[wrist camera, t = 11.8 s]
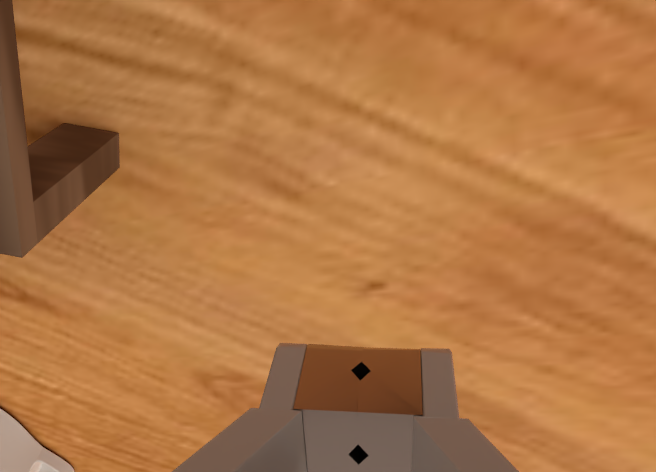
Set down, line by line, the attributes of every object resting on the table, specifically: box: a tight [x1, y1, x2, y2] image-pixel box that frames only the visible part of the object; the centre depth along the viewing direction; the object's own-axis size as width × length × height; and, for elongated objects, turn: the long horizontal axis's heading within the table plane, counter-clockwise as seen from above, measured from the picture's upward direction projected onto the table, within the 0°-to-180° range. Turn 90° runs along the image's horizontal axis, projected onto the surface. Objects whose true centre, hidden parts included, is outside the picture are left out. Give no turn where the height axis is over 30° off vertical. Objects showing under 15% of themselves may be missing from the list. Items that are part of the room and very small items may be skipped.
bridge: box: [0, 0, 119, 258], centre depth 25 cm, size 3×15×10 cm, turn 171°
